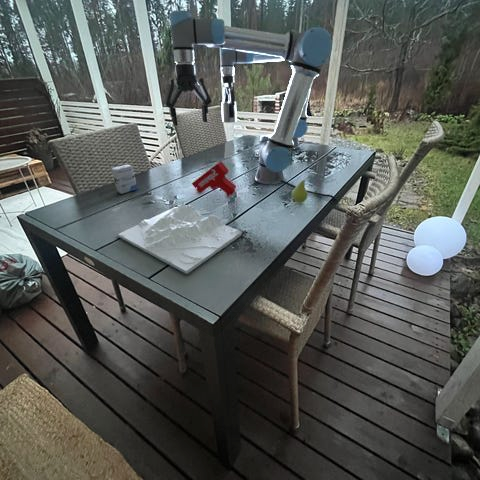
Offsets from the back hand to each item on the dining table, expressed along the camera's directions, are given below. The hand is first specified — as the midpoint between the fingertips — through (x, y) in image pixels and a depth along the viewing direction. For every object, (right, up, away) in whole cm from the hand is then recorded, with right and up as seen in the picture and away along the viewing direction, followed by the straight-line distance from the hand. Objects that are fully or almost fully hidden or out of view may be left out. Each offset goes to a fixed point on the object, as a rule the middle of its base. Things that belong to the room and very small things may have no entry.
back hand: (229, 116), depth 174 cm
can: (0, -3, +2) cm, 3 cm away
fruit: (+34, -62, -52) cm, 88 cm away
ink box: (-49, -55, -40) cm, 84 cm away
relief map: (-15, -78, -76) cm, 110 cm away
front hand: (-14, -30, -59) cm, 68 cm away
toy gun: (-5, -57, -43) cm, 71 cm away
